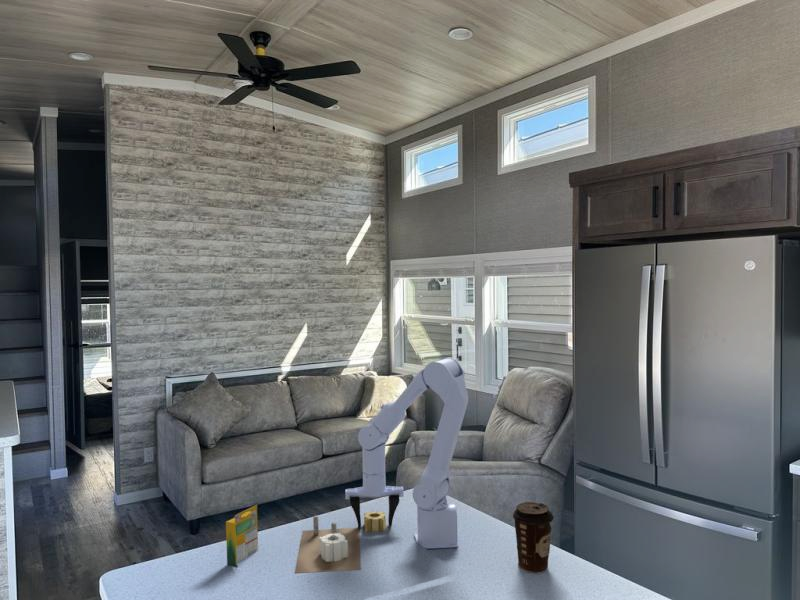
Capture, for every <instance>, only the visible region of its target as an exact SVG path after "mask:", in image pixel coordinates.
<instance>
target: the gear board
mask: <svg viewBox="0 0 800 600" xmlns="http://www.w3.org/2000/svg"><path fill="white" fill-rule="evenodd" d="M312 518H313V529H312V530H311V529H310V530H302V533H301V537H300V542H299V546H298V547H299V548H298V553H297V557H296V564H295V568H294V574H309V573H310V574H311V573H324V572H325V573H327V572H344V571H345V572H346V571H347V572H348V571H359V570H360V571H361V570H362V567H361V566H362V565H361V543H360V542H361V541H360V528H358V527H352V528H351V527H350V528H337V522H335V521H334V522H331V527H330V529H327V528H326V529H319V516H318V515H314V516H313V517H312ZM334 533H336V534H337V533H340V534H341V535H343V536H344V537H345V540H348V556H347V558H343V559H341V560H338V561H332V562H331V561H330V562H326V561H325V560H323V559H322V557H321V554H319V538H320V537H323V536H326V535H327V534H334ZM330 540H331V541H334V540H336V535H331V536H330Z"/></svg>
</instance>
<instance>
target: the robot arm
mask: <svg viewBox="0 0 800 600" xmlns="http://www.w3.org/2000/svg"><path fill="white" fill-rule="evenodd" d="M465 381H466V380H465V370H464V369H463V367H462V366H461V364H460V363H459V361H457V360H456V359H455V358H454V357H444V358H442V359H440V360H436V361H431V362H429V363H428V364H426V365H425V367H424V368H422V370H420V371H419V372H418V373H417V374H416V375H415V377H414V378H413V379H412V380H411V382H410V383H409V384H408V385H407V386H406V387H405V388H404V390H403V392H402V393H401V394H400V395H399V396H398V397H397V399H396V400H395V401H388V402H387V403H383V404H382V405H380V407H379V408H380V411H379V412H378V413H377V414H376V415H375V416H374V417H371V418H370V419H369V424H368V425H364V426H362V427H360V430H359V431H358V434H357V441H358V443H359V445H360V447H362V448H361V449H362V453H361V454H362V486H359V487H354V488H346V489H345V493H344V494H345V498H344V499H345V500H349V503H350V507H351V508H352V510H353V512H354V514H355V515H354V516H355V519H356V522H357V528H359V529H361V528H362V521H361V520H362V518H361V498H380V497H381V498H385V497H387V498H388V517H387V518H388V519H387V521H388V526H389V527H392V526H393V519H394V516H395V512H396V510H397V508H398V506H399V503H400V498H403V497H404V486H392V485H387V484H386V483H387V482H386V481H387V480H386V479H387V476H386V443H387V442H388V441H389V439H390V435H392V433H393V432H394V431H395V430H396V429H397V428H398V427H399V425H401V423H403V421H404V420H405V419H406V410H408V408H409V407H410V406H412V405H413V403H414V402H415V401H416V400H417V399H418V398H419V397H420V396H421V395H423V393H424V392H425V391H427V390H430V389H431V390H432V391H433V392H434V393H436V394H437V395H438V396H439V398H440V399H441V400H442V402H443V404H444V406H443V409H442V412H441V416H440V420H439V424H438V426H437V430H436V433H435V437H434V441H433V443H432V448H431V451H430V454H429V459H428V462H427V465H426V467H425V468H424V470H423V472H422V474H421V476H420V479H419V480H418V482H417V484H416V485H415V486H414V487H413V490H412V499H413V501H414V503H415V505H416V506H417V508H416V509H417V512H416V513H417V532H415V533H414V540H415V542H417V543H418V544H419V545H421V546H422V547H423V548H424V549H426V550H428V549H429V550H430V549H446V548H447V549H448V548H458V547H459V544H458V541H459V540H458V515H457V514H458V513H457V507H456V504H455V503H448V500H447V495H449V493H450V492H451V489H452V488H451V487H452V486H451V479H450V478H451V475H452V472H451V470H450V467H451V463H452V460H453V457H454V453H455V449H456V445H457V442H458V438H459V435H460V432H461V428H462V425H463V421H464V417H465V413H466V410H467V407H468V404H469V394H468V390H467V386H466V382H465Z"/></svg>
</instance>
